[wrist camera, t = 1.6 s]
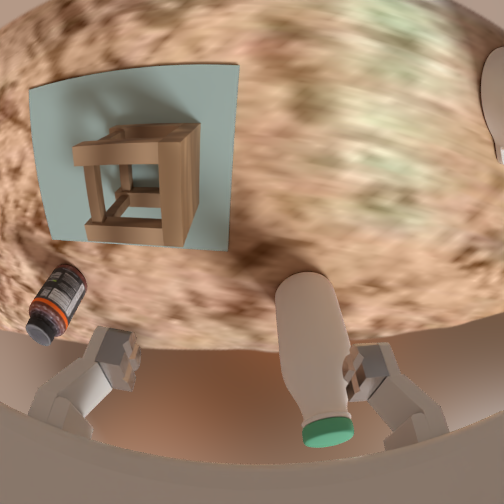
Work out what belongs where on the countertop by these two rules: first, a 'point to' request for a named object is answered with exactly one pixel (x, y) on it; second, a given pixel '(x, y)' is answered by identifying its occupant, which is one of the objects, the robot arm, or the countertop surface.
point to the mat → (135, 112)
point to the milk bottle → (314, 356)
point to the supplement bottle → (55, 304)
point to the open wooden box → (165, 196)
